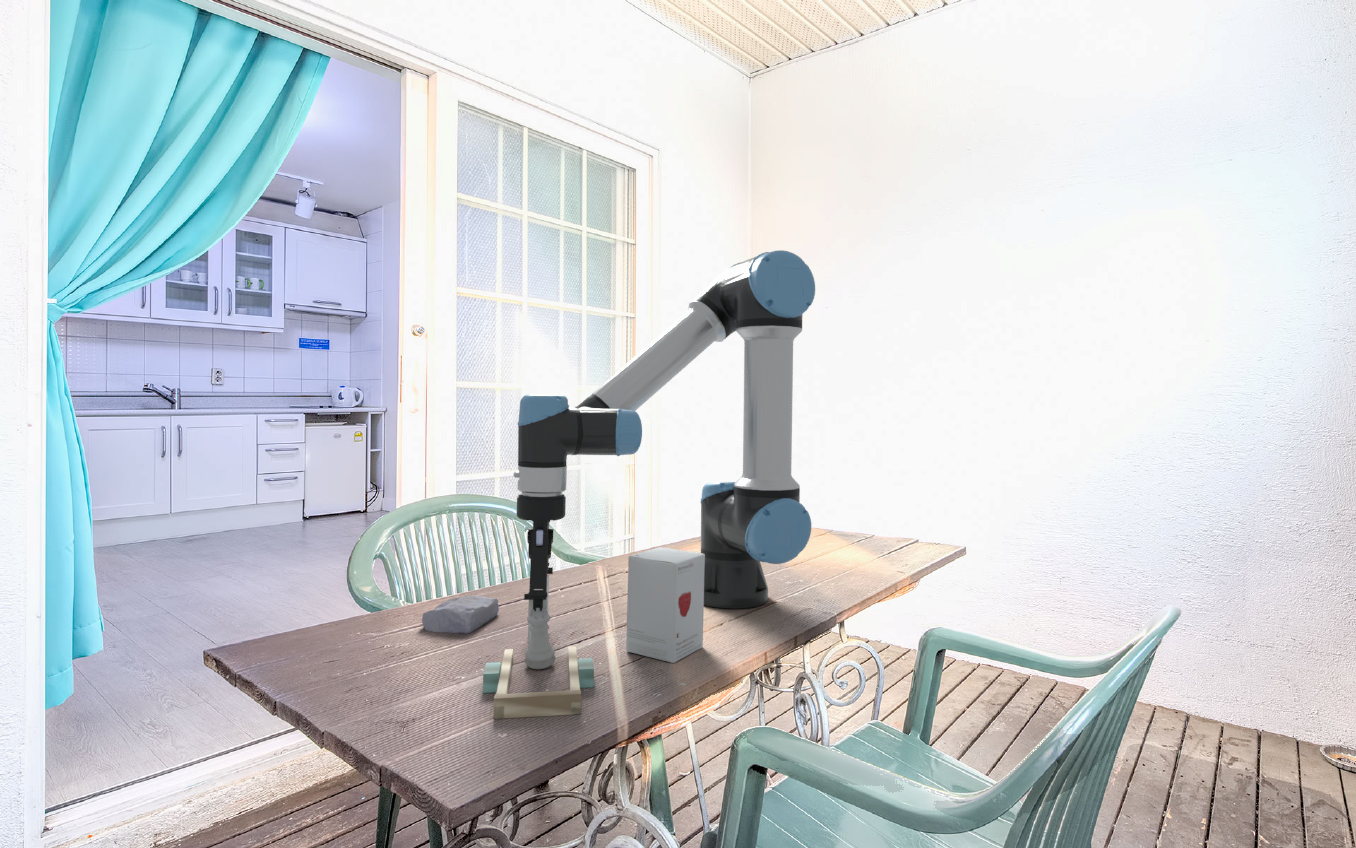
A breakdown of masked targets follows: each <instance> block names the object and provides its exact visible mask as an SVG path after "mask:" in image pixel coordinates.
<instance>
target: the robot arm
mask: <svg viewBox="0 0 1356 848" xmlns="http://www.w3.org/2000/svg"><path fill="white" fill-rule="evenodd" d="M815 281H816V280H815V277H814V274H813V273H812V270H811V268H810V267H809V265H808V264H807V263H806V262H805V261H804V260H803V259H802V257H800V256H799V255H797V254H795V252H794V253H793V252H791V251H787V250H782V249H781V250H773V251H765V252H762V253H760V254H758V255H757V256H754V257H751V258H748V259H747V260H744V261H741V262H737V263H735V264H733V265H732V266H730V267H728V268H726V269H725V270H724V271H723V272H722V273H721V274H719V275H718V276H717V277H716V278H715V279H714V280H712V282H711V283H710V284H708V286H707V287H705V288H704V290H702V292H700V293H699V294H698V295H697V296H696V297H695V298H693V299H692V301H690V302H689V303H688V311H686V312H685V313H684V314H683V315H682V316H681V317H680V318H679V319H676V321H675V322H674V323H673V324H672V325H670V326H669V327H668V328H667V329H666V330H665V331H663V332H662V333H661V334H660V335H659V336H658V337H656V338H655V339H654V340H653V341H651V343H649V344H648V345H647V346H646V347H645V348H644V349H642V350H641V351H640V352H639V353H638V354H636V355H635V356H634V357H633V358H632V359H631V360H630V361H629V362H627V363H626V364H625V365H623V367H621V368H620V369H619V370H618V371H616V373H614V375H612V376H611V377H609V379H608V380H606V381H605V382H604V383H603V384H601V386H599V387H598V388H597V389H596V390H595V391H593V392H592V394H591V395H589V396H587V398H585V399H584V400H583V401H582V402H581V403H580V404H578V405H577V406H573V407H570V404H569V399H568V397H567V396H566V395H556V394H555V395H554V394H553V395H552V394H526V395H524V396H522V398H521V399H520V401H519V410H518V411H519V413H518V422H517V426H518V427H517V428H518V430H517V434H518V435H517V469H518V470H517V471H514V472H513V477H514V478H515V479H517V490H518V491H519V492H521V493H519V494H518V496H516V518H518V519H519V520H523V521H531V522H532V528H527V529H528V530H527V544H528V550H527V551H528V552H527V554H528V559H529V560H530V565H529V567H530V568H529V569H530V570H529V591H528V593H524V595H523V596H524V597H523V598H524V601H528V612H527V613H528V616H529V615H530V612H531V610H532V609H534V612H535V611H536V608H540V611H542V608H545V609H546V610H547V612H548V613H549V596H550V595H549V591H550V590H549V587H550V586H549V585H550V575H553V573H554V571H553V570H554V567H550V562H549V559H552V558H551V557H552V547H553V546H552V545H553V542H554V528H550V523H551V521H558V520H562V519H564V518H565V517H566V502H567V501H566V498H567V497H566V495H565V494H563V493H565V491H567V478H568V477H567V469H568V468H567V467H568V466H567V461H568V460H567V459H568V457H567V456H577V455H579V456H616V457H620V456H624V455H625V456H627V455H628V456H630V455H634V454H636V453H637V452H638V451H639V449H640V447H641V443H642V441H643V440H642V438H643V425H642V424H643V423H642V419H641V417H640V415H639V414H638V412H637V410H638V409H640V407H642V406H643V405H644V404H645V403H646V402H647V401H648V400H649V399H650V398H652V397H653V396H654V395H655V394H656V393H657V392H659V391H660V390H661V389H662V388H663V387H664V386H666V385H667V384H668V383H669V382H670V381H671V380H672V379H673V378H675V376H677V375H678V374H679V373H680V372H681V371H683V370H684V369H685V368H687V366H688V365H689V364H690V363H692V361H694V360H695V359H696V358H697V357H699V355H701V354H702V353H703V352H704V351H705V350H706V349H708V347H709V346H711V345H712V344H713V343H714V342H717V343H719V342H724V341H725V340H726V339H727V338H728V337H730V336H731V335H732V334H733V333H737V334H738V335H739V336H740V337H741V338H742V339H743V341H744V346H743V347H744V351H743V352H744V355H743V356H744V357H743V360H744V361H743V362H744V363H743V366H744V367H743V429H742V430H743V436H742V437H743V441H742V443H743V444H742V475H741V476H740V477H739V478H738V479H737V480H736V481H728V482H727V481H726V482H725V481H724V482H708V483H706V484H704V486H703V487H702V490H701V499H700V506H701V507H700V508H701V509H700V510H701V512H700V553H703V554H705V567H704V606H707V607H712V608H719V609H751V608H756V607H759V606H762V605H764V604H766V603H767V602H768V600H769V587H768V584H767V583H768V582H767V580H766V577H765V573H764V571H763V570H764V569H763V566H762V564H761V563H768V564H772V565H782V564H785V563H788V562H791V561H792V560H794V559H795V558H797V557H798V555H799V554H800V553H801V552H802V551H804V549H805V548H806V546H807V544H808V543H809V540H810V537H811V535H812V534H811V533H812V519H811V515H810V514H809V511H808V510H807V509H806V507H805V506H804V505H803V504H802V503H800V501H801V500H800V499H801V497H800V495H801V494H800V493H801V492H800V491H801V490H800V489H801V486H800V484H799V483H798V482H797V480H796V479H794V477H793V476H792V456H793V455H792V450H793V449H792V448H793V447H792V442H793V391H794V390H793V383H794V381H793V380H794V375H793V374H794V373H793V372H794V341H795V339H796V338H797V337H798V336H799V335H800V334H801V333H802V332H803V315H804V313H806V312H807V311H808V309H809V308H810V307H811V306H812V303H813V302H814V299H815V295H816V282H815ZM528 616H527V617H528ZM530 626H531V624H530V623H529V622H528V621H527V644H530V637H531V631H530V630H529V627H530Z"/></svg>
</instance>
